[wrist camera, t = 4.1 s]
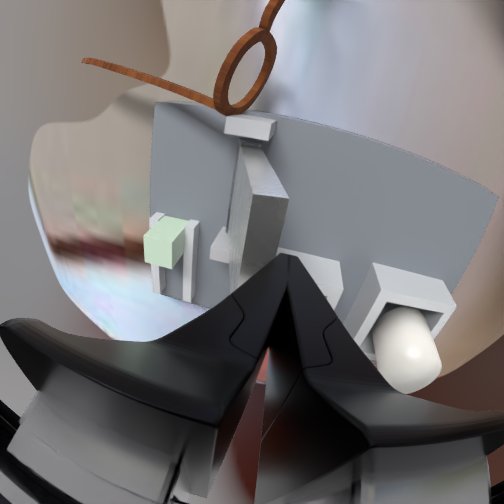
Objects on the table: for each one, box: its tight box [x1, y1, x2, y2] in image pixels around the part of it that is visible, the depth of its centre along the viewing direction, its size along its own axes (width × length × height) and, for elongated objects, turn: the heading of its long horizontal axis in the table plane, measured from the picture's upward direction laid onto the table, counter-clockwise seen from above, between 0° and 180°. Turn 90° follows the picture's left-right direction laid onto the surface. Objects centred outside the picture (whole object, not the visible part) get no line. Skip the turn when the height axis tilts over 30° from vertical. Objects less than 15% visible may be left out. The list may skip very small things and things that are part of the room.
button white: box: [372, 306, 442, 394], centre depth 14 cm, size 4×4×4 cm
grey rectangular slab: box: [225, 138, 289, 294], centre depth 12 cm, size 1×5×8 cm, turn 171°
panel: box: [149, 101, 499, 361], centre depth 16 cm, size 22×14×5 cm, turn 80°
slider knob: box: [144, 215, 189, 269], centre depth 16 cm, size 2×2×3 cm
